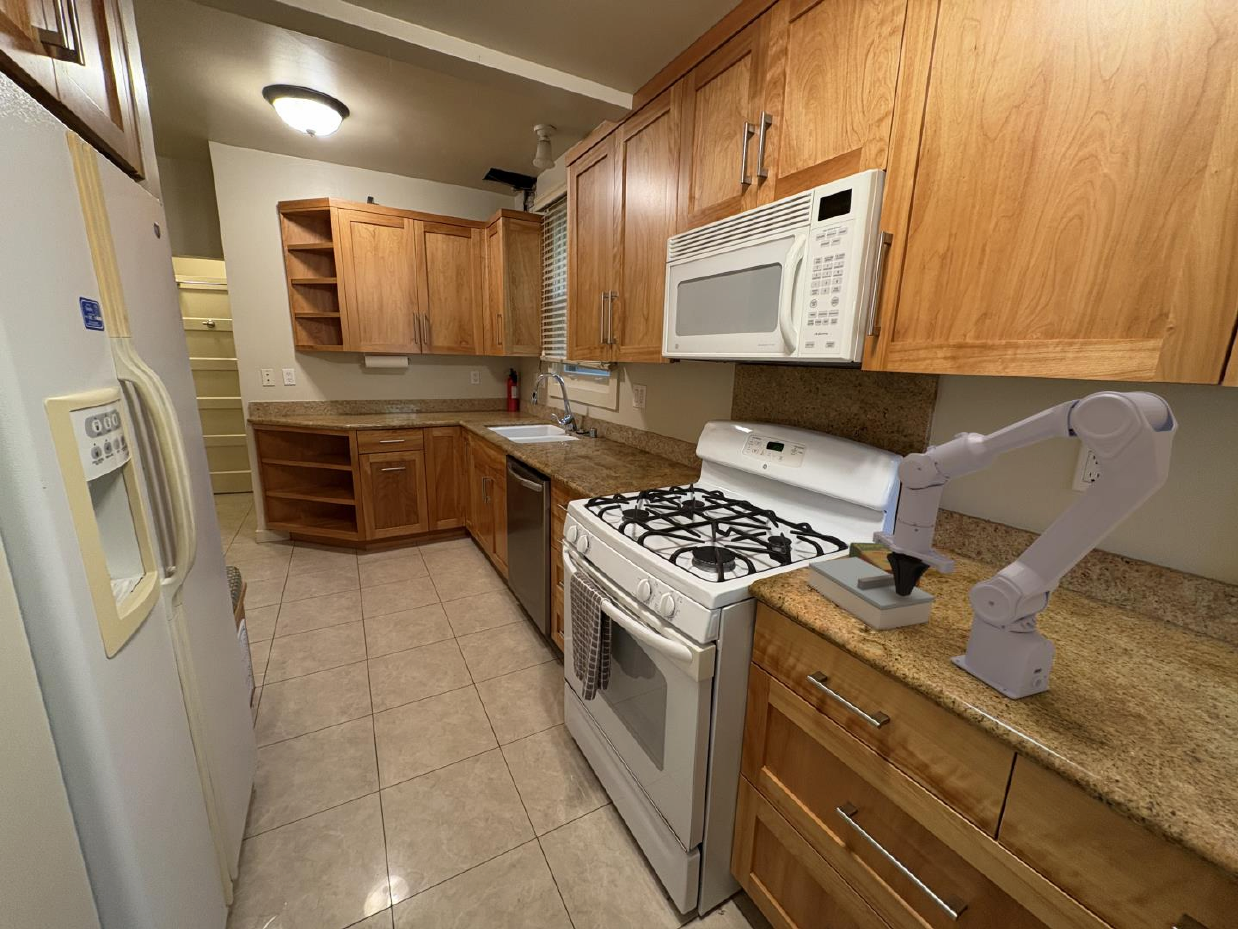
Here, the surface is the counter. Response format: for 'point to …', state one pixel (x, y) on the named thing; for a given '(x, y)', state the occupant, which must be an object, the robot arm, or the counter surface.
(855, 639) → the counter surface
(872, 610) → the base
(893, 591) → the lid
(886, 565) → the carton
